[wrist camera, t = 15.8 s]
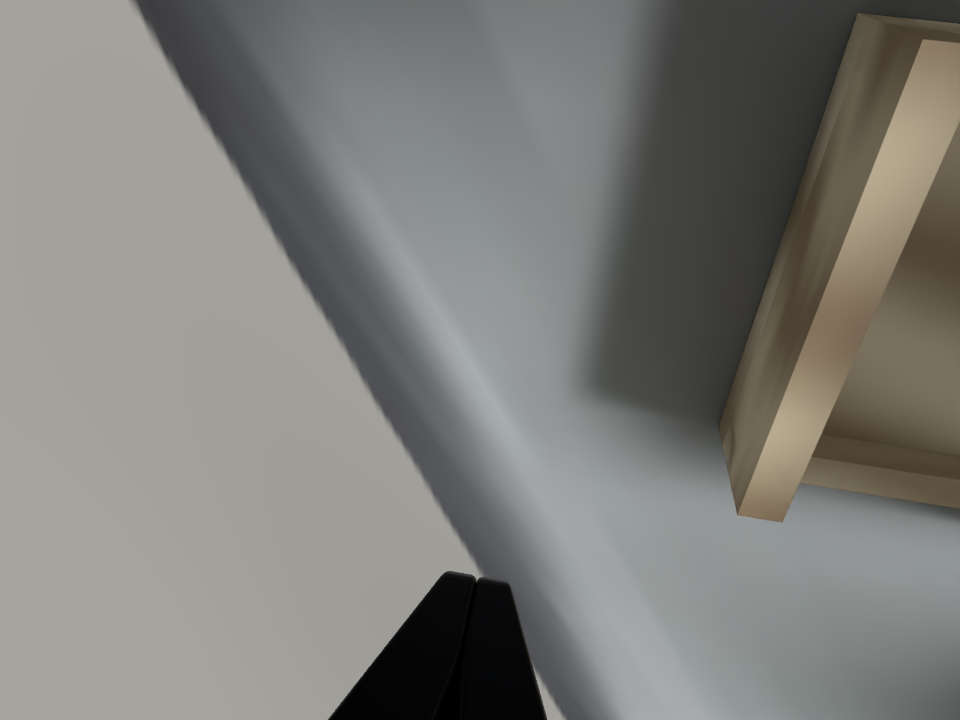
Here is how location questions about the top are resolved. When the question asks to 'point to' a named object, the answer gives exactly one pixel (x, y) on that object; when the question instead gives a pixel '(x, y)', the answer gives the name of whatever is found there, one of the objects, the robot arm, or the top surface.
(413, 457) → the top surface
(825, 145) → the tray
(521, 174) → the top surface
